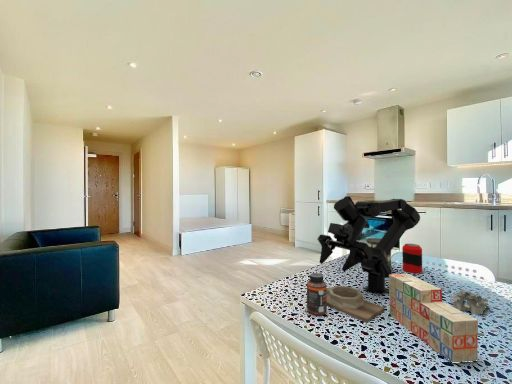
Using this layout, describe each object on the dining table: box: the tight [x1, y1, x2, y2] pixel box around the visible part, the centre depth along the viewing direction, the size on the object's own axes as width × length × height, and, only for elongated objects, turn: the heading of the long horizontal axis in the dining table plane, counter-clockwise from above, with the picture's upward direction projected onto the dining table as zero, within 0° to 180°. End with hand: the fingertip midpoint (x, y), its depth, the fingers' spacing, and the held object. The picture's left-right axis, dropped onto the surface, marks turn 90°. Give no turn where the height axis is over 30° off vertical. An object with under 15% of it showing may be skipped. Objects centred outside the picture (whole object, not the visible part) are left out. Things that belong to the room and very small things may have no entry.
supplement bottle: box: [306, 272, 328, 316], centre depth 75 cm, size 6×6×11 cm
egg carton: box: [451, 288, 489, 316], centre depth 76 cm, size 11×8×4 cm
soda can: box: [401, 243, 423, 274], centre depth 111 cm, size 8×8×12 cm
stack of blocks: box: [388, 273, 479, 362], centre depth 62 cm, size 21×6×12 cm, turn 5°
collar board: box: [326, 285, 386, 323], centre depth 79 cm, size 11×20×4 cm, turn 38°
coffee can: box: [365, 237, 392, 269], centre depth 112 cm, size 10×10×14 cm
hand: (331, 266), depth 78 cm, fingers open, 9 cm apart
